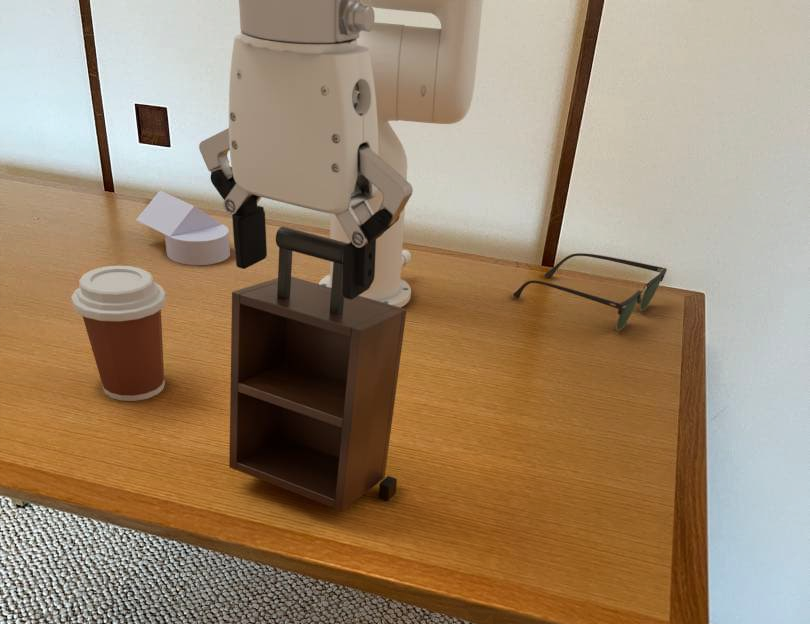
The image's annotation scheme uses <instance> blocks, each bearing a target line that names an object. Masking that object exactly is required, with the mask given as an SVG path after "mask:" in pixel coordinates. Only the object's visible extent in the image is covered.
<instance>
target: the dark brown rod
mask: <svg viewBox="0 0 810 624" xmlns="http://www.w3.org/2000/svg"><path fill="white" fill-rule="evenodd" d="M397 483H398V479H397V478H395V477H393V476H391V475H387V476H385V478H384V479H382V480H381V481H380V482H379V485H378V486H379V490H378V498H379V499H382V500H384V501H387V502H388V501H390V499H391V498H392V497H393V496H394V495H395V494H396V493H397Z"/></svg>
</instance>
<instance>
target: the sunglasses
mask: <svg viewBox="0 0 810 624" xmlns="http://www.w3.org/2000/svg"><path fill="white" fill-rule="evenodd" d="M574 257H589V258H593V259H599V260H605V261H610V262H614V263H619V264H623V265H627V266H632V267H636V268H640V269H644V270H647V271H653V272H657V273H658V275H656V276H655V277H653V278H652V279H651V280H649V281H648V282H647V283H646V284H645V285H644V287H643V289H641V290H640V289H639V290H637V291H636V292H635V293H634V294H633V295H631V296H630V297H629V298H627V299H626V300H624V301H622V302H616V301H612V300H609V299H606V298H602V297H600V296H595V295H592V294H589V293H585V292H582V291H580V290H575V289H572V288H568V287H565V286H561V285H558V284H554V283H550V282H546V281H541V280H535V279H533V280H532V279H531V280H528V281H526V282H524V283H523V284H522V285H521V286H520V287H519V288H518V289H517V290H515V292H514V293H513V295H512V296H513V297H514V298H516V299H520V297H521V295H522V293H523V291H524V289H526V287H527V286H528V285H530V284H537V285H543V286H547V287H548V288H549V287H550V288H553V289H556V290H560V291H563V292H566V293H568V294H569V293H570V294H572V295H576V296H578V297H581V298H584V299H587V300H589V301H593V302H597V303H598V304H602V305H605V306H608V307H610V308H615V309H617V314H618V317H617V320H616V323H615V330H616V331H621V330H622V329H623V328H625V326H626V324H627V322H628V320H629V318H631V317H630V316H631V315H632V312H633V311H634V309H635V307H636V304H638V310H639V311H641V312H642V311H645V309H647V307H648V306H649V305H650V303H651V301H652V299H653V298H654V295H655V294H656V292H657V290H658V288H659V285H660V283H662V282H663V280H664V278H665V275H666V273H667V271H668V269H667V268H666V267H661V266H657V265H652V264H647V263H642V262H638V261H632V260H628V259H622V258H617V257H612V256H606V255H601V254H595V253H594V254H593V253H583V252H582V253H581V252H580V253H579V252H577V253H572V254H569V255H567V256H565V257H564V258H563V259H562V260H560V261H559V262H558V263H556V265H554V266H553V267H552V268H551V269H549V270H548V271H546V273H545V274H544V277H545V278H546V279H551V278H552V277H553V276H554V275H555V273H556V272H557V270H558V269H559V268H560V266H562V265H563V264H564V263H565V262H566V261H568V260H569V259H571V258H574Z"/></svg>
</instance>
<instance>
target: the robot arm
mask: <svg viewBox="0 0 810 624" xmlns="http://www.w3.org/2000/svg"><path fill="white" fill-rule="evenodd" d="M483 1H484V0H238V9H239V10H238V11H239V28H240V29H239V30H240V34H237V35H235V36H234V39H233V46H232V52H231V61H230V70H229V71H230V72H229V88H228V89H229V91H228V128H226V129H224V130H222V131H220V132H218V133H216V134H214V135H212V136H210V137H208V138H205V139H204V140H201V142H200V143H199V145H198V149H199V152H200V154H201V156H202V159H203V161H204V163H205V166H206V168H207V170H208V172H210V181H211V184H212V185H213V187H214V188H215V189H216V191H217V192H218V194H219V196H220V197H221V198H222V199H223V208H224V210H225V212H226V213H227V214H229V215H231V217H232V218H231V219H232V233H233V244H234V245H233V246H234V251H235V252H234V253H235V264H236V267H237V268H239V269H242V270H245V269H247V268H249V267H252V266H254V265H255V264H257V263H259V262H261V261H263V260H265V259H266V258H267V256H268V250H267V249H268V248H267V247H268V246H267V227H266V211H265V208H264V206H261V205H258V203H259V202H260V200H261V199H262V198H264V199H268V200H272V201H276V202H279V203H283V204H287V205H292V206H296V207H300V208H302V209H303V208H304V209H308V210H312V211H317V212H320V213H325V214H329V238H330V239H334V240H338V241H341V242H345V243H348V244H347V245H345V246H344V248H343V291H342V293H343V296H344V297H345V298H347V299H350V300H352V299H354V298H355V297H357V296H362V297H365V298H369V299H372V300H376V301H379V302H383V303H386V304H390V305H393V306H397V307H400V308H403V307H404V306H406V305H407V304H408V303H409V302H410V300H411V299H412V298H411V295H412V288H411V286H410V284H409V283H408V282H407V281H405V279H403V278H401V277H402V276H401V275H402V269H403V267H404V266H406V265H407V264H409V263H411V261H412V254H411V252H410V251H409V250H407V249H403V245H404V243H403V242H404V230H405V229H404V227H405V214H406V213H405V211H406V205H407V204H408V202H409V200H410V198H411V196H412V195H413V191H414V188H413V186H412V184H411V183H410V182H409V181H408V159H407V154H406V150H405V148H404V146H403V143H402V142H401V140H400V138H399V137H398V135H397V134H396V132H395V130H394V129H393V127H392V126H391V124H390V122H392V121H394V122H398V121H401V122H413V123H424V124H438V125H453V124H457V123H459V122H461V121H462V120H463V119H464V118H465V117H466V116H467V114H468V113H469V111H470V108H471V105H472V100H473V97H474V92H475V91H474V90H475V84H476V83H475V82H476V73H477V64H478V52H479V43H480V33H481V24H482V23H481V21H482V13H483V3H484V2H483ZM374 8H376V9H381V10H382V9H383V10H393V11H402V12H403V11H404V12H414V13H423V14H425V13H426V14H431V15H434V16H435V17H436V18H437V19H438V20H439V23H440V28H435V27H424V26H413V25H405V24H398V23H387V22H375V11H374ZM228 153H229V156H230V159H229V157H228ZM230 165H231V166H230ZM332 275H333V262H331V261H329V274H327V275H325V276H324V277H323V278H321V279H320V281H319V282H318V284H319V285H323V286H326V287H330V288H331V287H332Z"/></svg>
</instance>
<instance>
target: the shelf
mask: <svg viewBox="0 0 810 624" xmlns="http://www.w3.org/2000/svg"><path fill="white" fill-rule="evenodd" d="M275 243H276V246H277V247H278V267H277V278H274V279H273V278H272V279H270V280H266V281H263V282H260V283H256V284H253V285H250V286H246V287H244V288H240V289H237V290H233V291H232V292H231V327H230V328H231V332H230V335H231V336H230V392H229V393H230V396H229V397H230V398H229V399H230V400H229V404H230V405H229V410H230V411H229V455H228V456H229V457H228V459H229V460H228V461H229V462H228V463H229V465H228V466H229V467H228V468H230V469H233V470H235V471H238V472H240V473H243V474H245V475H248V476H251V477H252V478H256V479H259V480H260V481H264V482H266V483H269V484H271V485H274V486H277V487H279V488H282V489H284V490H286V491H289V492H292V493H295V494H298V495H300V496H302V497H305V498H307V499H310V500H313V501H315V502H318V503H321V504H323V505H326V506H328V507H331V508H334V509H336V510H339V511H344V510H345V509H346V508H347V507H349V506H351V504H353V503H354V502H355V501H357V500H358V499H359V498H360V497H362V496H364V495H365V494H366V493H367V492H369V490H371V489H372V488H373V487H375V486H376V485H378V484H380V483H381V482H382V481H383V480H384V479H385V478H386V470H387V463H388V455H389V447H390V441H391V433H392V424H393V419H394V418H393V417H394V409H395V401H396V394H397V387H398V379H399V371H400V364H401V356H402V348H403V340H404V334H405V333H404V332H405V325H406V319H407V310H408V309H407V308H403V307H401V308H400V307H397V306H393V305H390V304H386V303H383V302H379V301H376V300H372V299H369V298H365V297H362V296H357V297H355V298H354V299H352V300H350V299H347V298H345V297H344V296H343V293H342V291H343V248H344V246H345V245H347V244H348V243H345V242H341V241H338V240H334V239H330V237H326V236H322V235H318V234H314V233H310V232H306V231H303V230H299V229H295V228H291V227H287V226H280V227H279V228H277V232H276V234H275ZM293 252H295V253H297V254H302V255H306V256H309V257H313V258H317V259H320V260H323V261H328V262H330V261H331V262H333V275H332V287H331V288H330V287H326V286H323V285H319V283H315V282H312V281H309V280H305V279H301V278H298V277H295V276H292V269H293Z"/></svg>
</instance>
